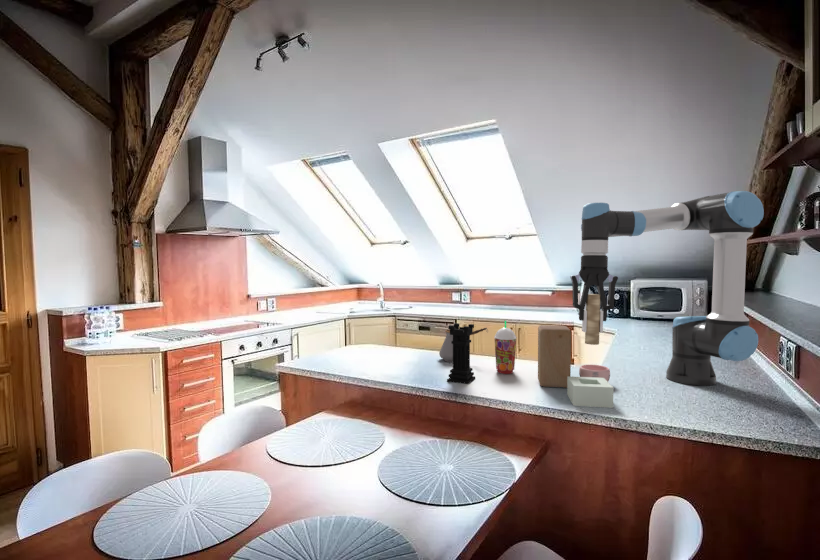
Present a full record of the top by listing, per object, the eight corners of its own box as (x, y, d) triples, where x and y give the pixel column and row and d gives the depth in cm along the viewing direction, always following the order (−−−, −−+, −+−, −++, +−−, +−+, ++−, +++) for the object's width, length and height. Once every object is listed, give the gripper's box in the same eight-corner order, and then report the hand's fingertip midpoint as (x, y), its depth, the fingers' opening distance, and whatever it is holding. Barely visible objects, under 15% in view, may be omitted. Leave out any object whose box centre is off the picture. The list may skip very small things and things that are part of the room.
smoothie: (492, 373, 171) (492, 321, 170) (496, 368, 178) (496, 318, 177) (514, 375, 167) (514, 322, 167) (517, 370, 175) (518, 319, 174)
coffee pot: (435, 361, 192) (435, 326, 191) (444, 356, 202) (444, 323, 201) (484, 366, 183) (484, 329, 182) (491, 360, 193) (491, 325, 193)
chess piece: (475, 378, 164) (475, 324, 163) (468, 384, 156) (468, 327, 156) (454, 376, 167) (454, 323, 166) (447, 381, 160) (447, 325, 159)
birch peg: (597, 342, 138) (598, 294, 138) (600, 345, 134) (601, 295, 134) (583, 342, 139) (585, 293, 138) (586, 344, 135) (587, 294, 134)
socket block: (603, 396, 142) (603, 377, 141) (613, 407, 131) (613, 387, 131) (567, 394, 144) (567, 376, 143) (573, 405, 133) (573, 385, 132)
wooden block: (570, 388, 150) (571, 329, 150) (539, 387, 152) (540, 328, 152) (566, 381, 160) (567, 325, 159) (537, 379, 162) (538, 324, 161)
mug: (612, 389, 150) (612, 371, 150) (581, 387, 152) (581, 370, 152) (605, 380, 161) (606, 363, 161) (576, 378, 164) (576, 362, 164)
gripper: (620, 255, 138) (618, 330, 139) (562, 254, 141) (561, 328, 142) (628, 254, 130) (625, 334, 131) (567, 254, 133) (565, 332, 134)
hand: (592, 331), depth 137 cm, fingers closed on birch peg, 4 cm apart
